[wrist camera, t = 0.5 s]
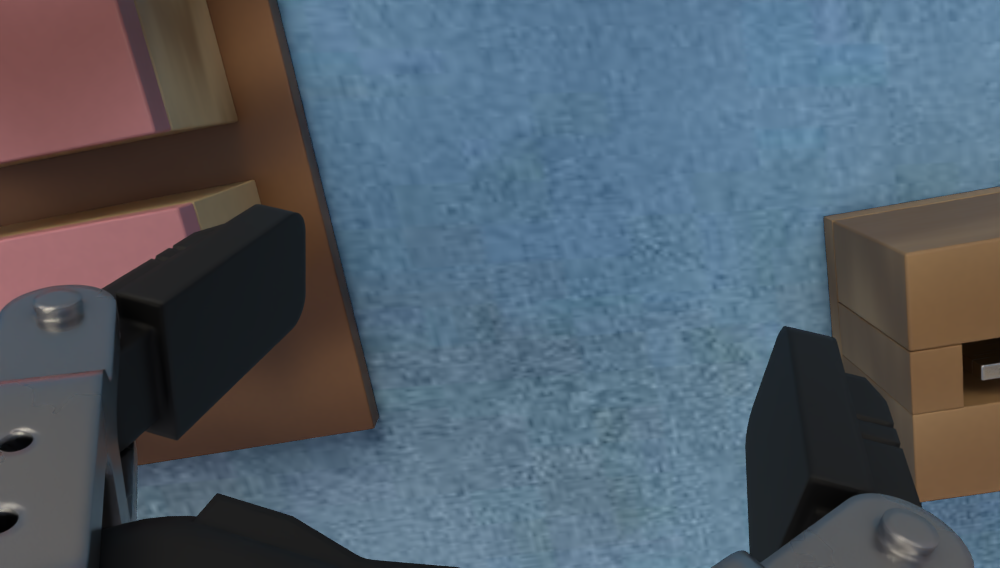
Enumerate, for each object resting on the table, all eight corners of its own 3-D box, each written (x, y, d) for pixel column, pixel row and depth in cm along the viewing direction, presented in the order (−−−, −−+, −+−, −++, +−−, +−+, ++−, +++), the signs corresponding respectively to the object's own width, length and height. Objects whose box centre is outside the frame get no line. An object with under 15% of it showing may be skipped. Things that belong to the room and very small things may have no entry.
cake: (-199, -182, 24) (-475, -282, 18) (209, -279, 23) (80, -424, 17) (47, 470, 30) (-90, 580, 24) (379, 417, 29) (336, 518, 23)
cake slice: (-12, 228, 27) (-159, 269, 21) (255, 179, 26) (177, 207, 20) (26, 332, 28) (-105, 398, 22) (284, 288, 27) (218, 344, 21)
